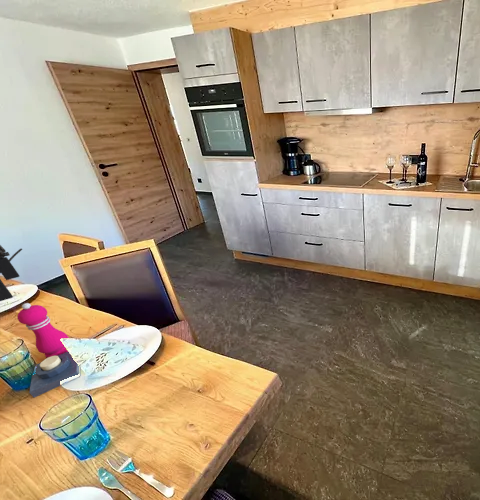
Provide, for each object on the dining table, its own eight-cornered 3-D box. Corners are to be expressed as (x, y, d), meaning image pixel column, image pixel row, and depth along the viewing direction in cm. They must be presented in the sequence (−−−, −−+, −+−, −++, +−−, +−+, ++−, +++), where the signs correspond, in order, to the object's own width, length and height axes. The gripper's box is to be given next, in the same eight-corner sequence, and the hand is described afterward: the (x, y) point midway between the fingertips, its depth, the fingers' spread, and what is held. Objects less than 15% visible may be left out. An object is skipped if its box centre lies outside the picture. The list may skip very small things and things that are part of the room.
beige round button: (43, 364, 84) (40, 360, 83) (61, 357, 86) (58, 353, 86) (42, 373, 81) (39, 369, 81) (61, 365, 84) (57, 361, 83)
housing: (37, 370, 87) (30, 361, 85) (80, 352, 92) (74, 343, 91) (33, 397, 79) (25, 388, 77) (80, 376, 84) (73, 367, 82)
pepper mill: (39, 359, 91) (0, 310, 81) (64, 342, 97) (30, 294, 87) (56, 363, 89) (18, 313, 79) (80, 346, 95) (47, 297, 86)
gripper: (-51, 208, 77) (-2, 275, 87) (-86, 238, 60) (-21, 316, 70) (-10, 202, 81) (32, 266, 91) (-32, 228, 64) (22, 303, 75)
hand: (9, 288), depth 81 cm, fingers open, 13 cm apart
